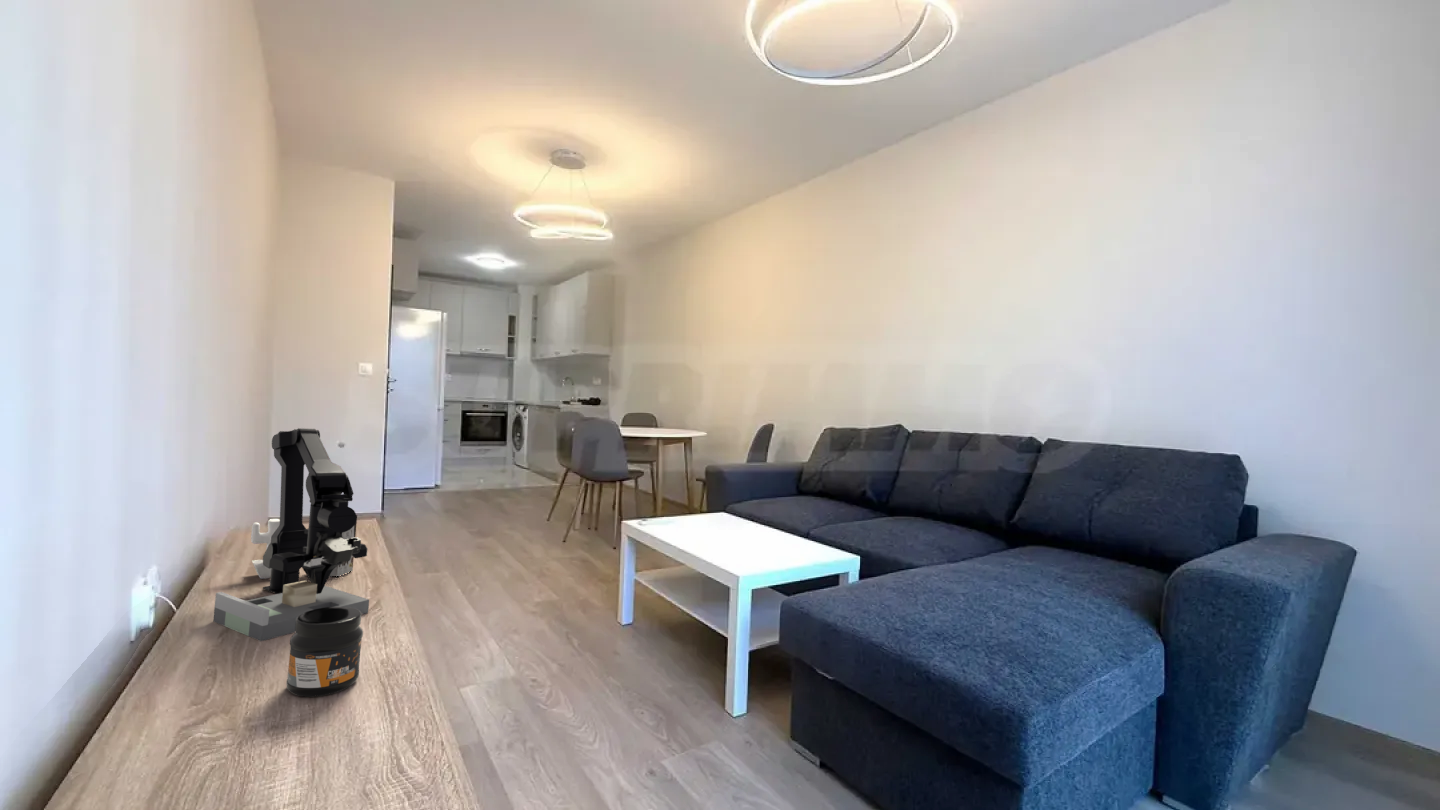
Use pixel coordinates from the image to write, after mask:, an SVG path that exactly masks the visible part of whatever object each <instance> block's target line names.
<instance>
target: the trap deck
mask: <svg viewBox="0 0 1440 810" xmlns="http://www.w3.org/2000/svg"><path fill="white" fill-rule="evenodd" d="M282 596H283V593H279V594H275V593H274V594H271V595H270V594H269V595H267V596H261V597H256V598H251V599H248V600H245V599H241V598H240V597H236V596H233V595H231V594H228V593H226V592H223V591H219V592H215V598H214V610H213V621H212V622H214V623H216V624H219V625H220V626H224V627H226V628H228V629H230V630H232V631H234V632H235V631H236V632H237V633H240V634H243V635H245V636H247V637H250V638H252V639H255V640H257V641H259V642H264V641H267V640H271V639H275V638H279V637H283V636H286V635H289V634H293V633H294V634H295V633H296V631H295V622H296V618H297V617H298V616H299V615H301V614H303V613H305V612H307V611H311V610H314V609H319V608H326V607H351V608H355V609H358V610H359V611H360V612H361V615H364V614H368V613H369V607H370V599H368V598H366V597H362V596H359V595H356V594H352V593H349V592H347V591H344V590H341V589H336V588H334V587H330V586H327V585H325V586H324V588H323V590H322V592H321V593H320V594H316V602H314V603H310V604H305V605H301V606H297V607H292V606H289V605H286V604H283V603H282Z"/></svg>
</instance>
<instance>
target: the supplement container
mask: <svg viewBox="0 0 1440 810" xmlns="http://www.w3.org/2000/svg"><path fill="white" fill-rule="evenodd" d="M361 621H362V614H361V612H360V611H359V610H358V609H355V608H351V607H326V608H319V609H314V610H311V611H307V612H305V613H303V614H301V615H299V616H298V617H297V618H296V622H295V631H296V632H294V634H292V636H291V637H290V640H289V645H290V647H289V648H290V649H289V661H288V670H287V677H286V678H287V679H286V688H287V690H288V692H290V693H291V694H293V695H296V696H298V697H299V696H300V697H305V698H306V697H309V698H313V697H314V698H315V697H323V696H329V695H332V694H336V693H338V692H342V691H344V690H345V689H348V688H349V687H350V686H352V685H353V684H355V682H356V681H357V680H358V678H359V676H360V661H361V649H362V640H363V639H362V638H363V635H364V631H363V628H362V627H361V626H360V625H361V623H362V622H361Z"/></svg>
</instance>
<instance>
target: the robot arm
mask: <svg viewBox="0 0 1440 810" xmlns="http://www.w3.org/2000/svg"><path fill="white" fill-rule="evenodd" d="M271 448H272V449H273V457H274V459H275V460H276V461H277V463H278V464H279V466H280V467H281V473H280V474H281V475H280V500H279V501H280V503H279V505H280V506H279V507H280V508H279V509H280V510H279V519H280V525H279V527H278V528H277V529H276V531H275V532H274V533H273V535H272V536H271V543H270V544H269V546H268V548H267V550H266V549H265V551H264V553H263V555H262V560H263V565H264V566H266V567H267V568H269V569H270V568H271V577H270V578H269V579H270V580H269V585H266V586H263V587H262V590H264V591H266V592H270V593H273V594H274V595H275V594H280V593H283V585H285V584H290V583H295V582H300V570H301V568H302V570H303V571H304V573H305V575H306V576H307V579H308V580H309V581H308V582H312V583H315V584H317V592H316V594H320V593H321V592H322V590H323V588H324V586H326V583H328V582H327V581H328V580H329V578H330V577H331V576H330V574H331V572H332V571H333V569H334V568H336V567H337V566H338V565H341V564H342V563H343V561H346V562H347V561H350V560H351V557H352V556H353V557H354V559H361V558H364V557H368V547H367V545H366V544H364V543H362V539H361V538H360V537H358V536H357V537H356V536H355V538H350V539H343V537H342V533H343V532H346V531H348V530H350V529H351V528H352V527H353V526H354V525H355V523H356V520H357V521H358V515H357V514H356V511H355V510H354V509H353V508H351V507H350V506H349V502H352V501H353V495H354V491H353V488H352V485H351V480H350V479H349V476H348V475H347V472H345V470H344V469H343V467H342V466H341V465H338V464H336V463H334V462H333V461H332V460H331V458H330V456H329V454H328V452H327V450H326V448H325V446H324V443H323V441H322V439H321V433H320V430H319V429H316V428H302V427H301V428H299V427H297V429H295V428H294V429H293V430H284V431H283V430H280V431H278V433H276V434H274V435H273V436H272V439H271ZM305 467H306V469H307V471H308V474H307V477H306V480H305V490H306V492H307V496H308V497H309V503H310V505H309V506H310V508H309V518H308V528H307V527H306V526H305V525H304V523H303V510H304V509H303V508H304V477H305V475H304V473H305ZM356 515H357V516H356ZM313 556H317V557H313Z"/></svg>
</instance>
